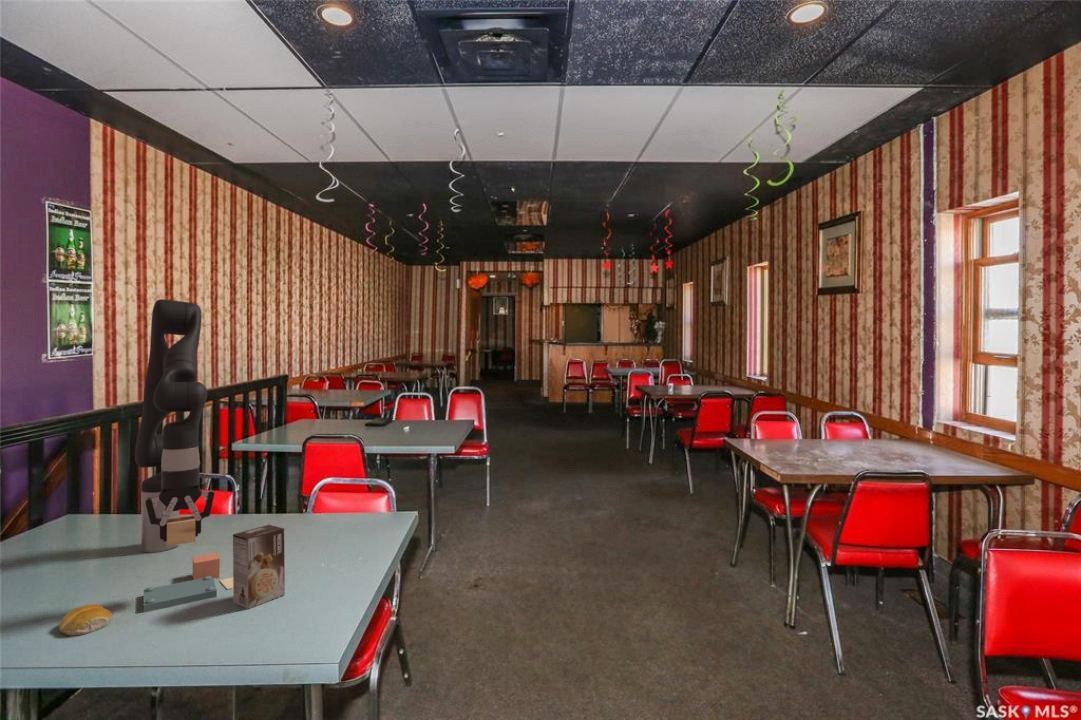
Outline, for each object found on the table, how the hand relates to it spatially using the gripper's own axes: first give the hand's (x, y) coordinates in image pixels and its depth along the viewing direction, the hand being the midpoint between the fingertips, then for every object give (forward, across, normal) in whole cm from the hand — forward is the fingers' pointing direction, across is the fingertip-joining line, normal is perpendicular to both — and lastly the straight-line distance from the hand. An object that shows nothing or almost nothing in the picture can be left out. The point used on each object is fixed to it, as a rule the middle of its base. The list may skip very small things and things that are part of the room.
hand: (180, 537), depth 131 cm
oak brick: (+1, 0, 0) cm, 1 cm away
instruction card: (+14, -14, -2) cm, 20 cm away
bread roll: (+14, +17, +6) cm, 23 cm away
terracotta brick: (+14, -6, -10) cm, 18 cm away
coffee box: (+14, -15, +12) cm, 24 cm away
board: (+14, 0, 0) cm, 14 cm away
